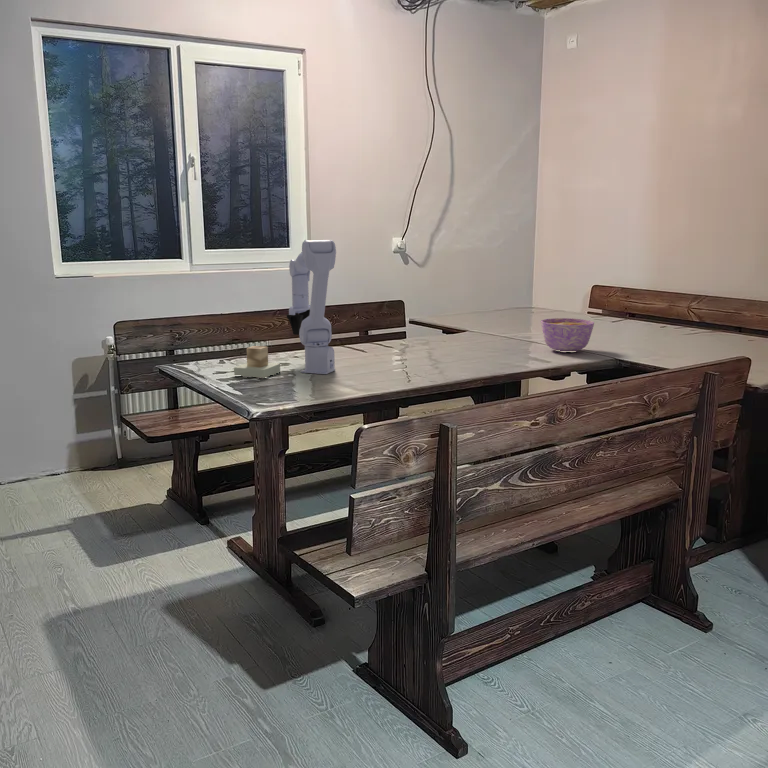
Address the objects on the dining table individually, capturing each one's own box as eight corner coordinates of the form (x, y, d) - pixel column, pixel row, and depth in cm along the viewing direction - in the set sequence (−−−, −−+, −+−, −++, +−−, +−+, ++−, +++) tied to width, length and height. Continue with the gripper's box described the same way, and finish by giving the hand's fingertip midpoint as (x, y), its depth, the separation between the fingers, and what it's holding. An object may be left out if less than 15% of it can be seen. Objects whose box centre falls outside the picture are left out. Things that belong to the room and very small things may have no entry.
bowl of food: (588, 347, 305) (589, 318, 303) (596, 356, 286) (598, 325, 284) (537, 346, 307) (538, 317, 305) (542, 355, 288) (543, 324, 285)
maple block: (268, 364, 254) (267, 346, 252) (260, 367, 249) (260, 349, 248) (254, 363, 255) (254, 345, 254) (247, 366, 251) (246, 348, 249)
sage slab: (280, 372, 256) (280, 363, 255) (264, 378, 246) (264, 369, 245) (251, 370, 260) (250, 361, 259) (234, 376, 250) (234, 367, 249)
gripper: (299, 292, 277) (299, 329, 280) (280, 296, 264) (281, 335, 267) (316, 292, 275) (317, 330, 278) (299, 296, 262) (300, 336, 265)
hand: (301, 333), depth 272 cm, fingers open, 7 cm apart
